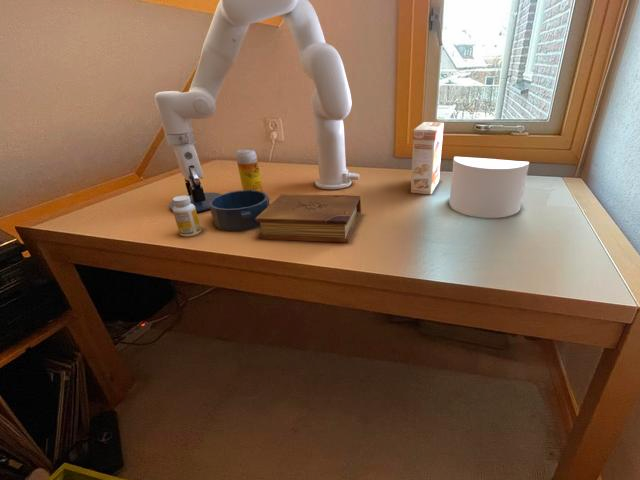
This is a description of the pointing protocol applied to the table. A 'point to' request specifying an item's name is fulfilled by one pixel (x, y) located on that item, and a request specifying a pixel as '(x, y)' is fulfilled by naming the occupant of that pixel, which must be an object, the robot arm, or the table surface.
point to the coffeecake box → (426, 157)
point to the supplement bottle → (186, 216)
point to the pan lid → (199, 205)
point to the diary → (310, 218)
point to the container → (487, 186)
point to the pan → (238, 209)
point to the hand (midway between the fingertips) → (196, 197)
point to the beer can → (249, 169)
